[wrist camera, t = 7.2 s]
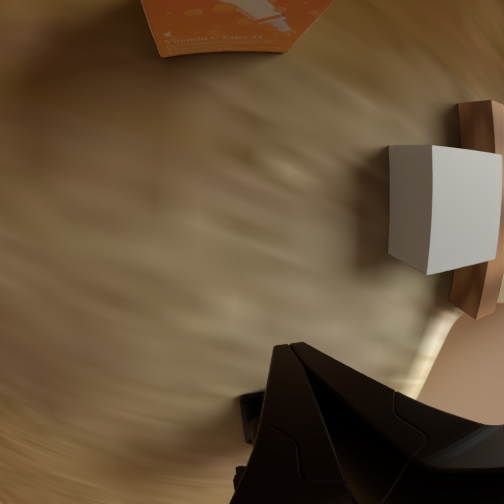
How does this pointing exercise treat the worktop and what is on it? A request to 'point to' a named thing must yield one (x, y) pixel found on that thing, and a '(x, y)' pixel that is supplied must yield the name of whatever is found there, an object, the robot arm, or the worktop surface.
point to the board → (491, 272)
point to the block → (443, 206)
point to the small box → (229, 24)
